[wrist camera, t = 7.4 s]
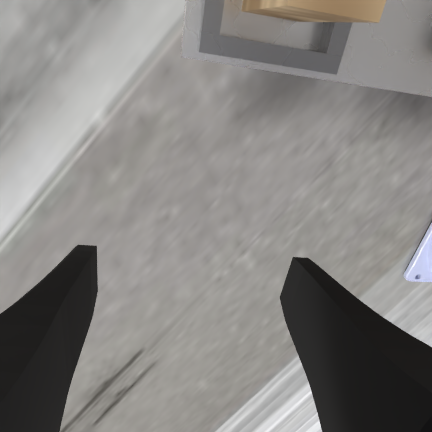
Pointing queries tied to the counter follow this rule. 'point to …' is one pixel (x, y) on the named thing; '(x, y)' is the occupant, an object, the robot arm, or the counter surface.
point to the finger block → (318, 10)
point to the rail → (318, 44)
